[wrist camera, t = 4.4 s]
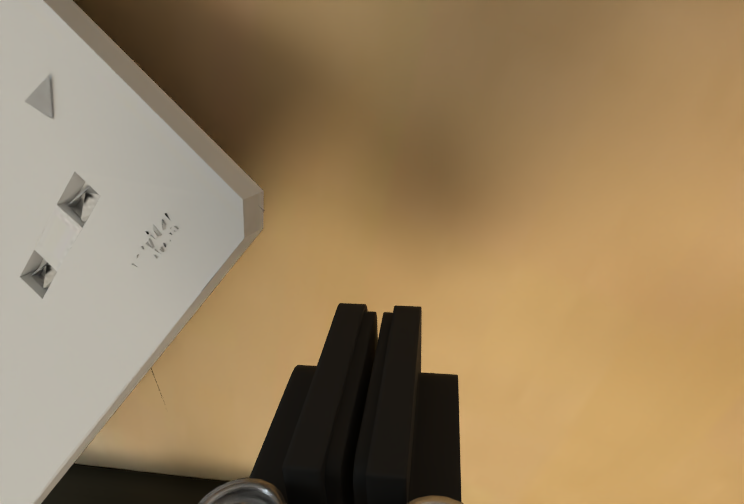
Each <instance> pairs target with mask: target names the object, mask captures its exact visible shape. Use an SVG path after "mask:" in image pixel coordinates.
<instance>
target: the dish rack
mask: <svg viewBox="0 0 744 504" xmlns="http://www.w3.org/2000/svg"><path fill="white" fill-rule="evenodd" d="M225 483H227V482H223V481H214V480H205V479H197V478H188V477H179V476H170V475H161V474H152V473H144V472H135V471H126V470H117V469H108V468H100V467H91V466H82V465H72V466H71V467H70V468H69V470H68V471H67V472H66V473H65V474H64V476H63V477H62V478H61V479H60V481H59V482H58V483H57V484H56V486H55V487H54V488H53V489H52V491H51V492H50V493H49V494H48V496H47V497H46V498H45V499H44V500H43V502H42V503H41V504H198V503H199V502H200V501H201V500H202V499H203V497H205V496H206V495H207V494H209V493H210V492H211V491H213V490H214V489H215V488H217V487H218V486H221V485H223V484H225Z"/></svg>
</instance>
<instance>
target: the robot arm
mask: <svg viewBox="0 0 744 504" xmlns="http://www.w3.org/2000/svg"><path fill="white" fill-rule="evenodd" d="M198 504H463V503H462V502H461V471H460V433H459V394H458V375H452V374H435V373H421V307H414V306H394V310H393V313H389V312H384V313H383V318H382V323H381V328H380V333H379V338H378V334H377V314H376V312H367V306H366V304H346V303H340V304H339V305H338V307H337V310H336V313H335V316H334V319H333V321H332V324H331V327H330V330H329V333H328V336H327V339H326V342H325V344H324V347H323V350H322V353H321V356H320V359H319V362H318V365H317V366H305V365H297V366H296V367H295V368H294V370H293V372H292V374H291V377H290V379H289V381H288V384H287V386H286V389H285V391H284V394H283V396H282V399H281V401H280V404H279V406H278V409H277V411H276V413H275V416H274V418H273V421H272V423H271V426H270V428H269V431H268V433H267V436H266V438H265V441H264V443H263V445H262V448H261V450H260V453H259V455H258V458H257V460H256V463H255V465H254V468H253V470H252V473H251V475H250V477H249V478H243V479H238V480H232V481H230V482H227V483H225V484H223V485H221V486H218V487H217V488H215V489H214V490H213V491H211V492H210V493H209V494H207V495H206V496H205V497H203V499H202V500H201V501H200V502H199V503H198Z"/></svg>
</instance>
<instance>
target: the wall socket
mask: <svg viewBox="0 0 744 504" xmlns="http://www.w3.org/2000/svg"><path fill="white" fill-rule="evenodd" d="M263 206H264V191H263V190H262V189H261V188H260V187H259V186H258V185H257V184H256V183H255V182H254V181H253V180H252V179H251V178H250V177H249V176H248V175H247V174H246V173H245V172H244V171H243V170H242V169H241V168H240V167H239V166H238V165H237V164H236V163H235V162H234V161H233V160H232V159H231V158H230V157H229V156H228V155H227V154H226V153H225V152H224V151H223V150H222V149H221V148H220V147H219V146H218V145H217V144H216V143H215V142H214V141H213V140H212V139H211V138H210V137H209V136H208V135H207V134H206V133H205V132H204V131H203V130H202V129H201V128H200V127H199V126H198V125H197V124H196V123H195V122H194V121H193V120H192V119H191V118H190V117H189V116H188V115H187V114H186V113H185V112H184V111H183V110H182V109H181V108H180V107H179V106H178V105H177V104H176V103H175V102H174V101H173V100H172V99H171V98H170V97H169V96H168V95H167V94H166V93H165V92H164V91H163V90H162V89H161V88H160V87H159V86H158V85H157V84H156V83H155V82H154V81H153V80H152V79H151V78H150V77H149V76H148V75H147V74H146V73H145V72H144V71H143V70H142V69H141V68H140V67H139V66H138V65H137V64H136V63H135V62H134V61H133V60H132V59H131V58H130V57H129V56H128V55H127V54H126V53H125V52H124V51H123V50H122V49H121V48H120V47H119V46H118V45H117V44H116V43H115V42H114V41H113V40H112V39H111V38H110V37H109V36H108V35H107V34H106V33H105V32H104V31H103V30H102V29H101V28H100V27H99V26H98V25H97V24H96V23H95V22H94V21H93V20H92V19H91V18H90V17H89V16H88V15H87V14H86V13H85V12H84V11H83V10H82V9H81V8H80V7H79V6H78V5H77V4H76V3H75V2H74V1H73V0H0V504H41V503H42V502H43V500H44V499H45V498H46V497H47V496H48V494H49V493H50V492H51V491H52V489H53V488H54V487H55V486H56V484H57V483H58V482H59V481H60V479H61V478H62V477H63V476H64V474H65V473H66V472H67V471H68V470H69V468H70V467H71V466H72V465H73V463H74V462H75V461H76V460H77V458H78V457H79V456H80V455H81V453H82V452H83V451H84V450H85V448H86V447H87V446H88V445H89V444H90V442H91V441H92V440H93V439H94V437H95V436H96V435H97V434H98V432H99V431H100V430H101V429H102V427H103V426H104V425H105V424H106V422H107V421H108V420H109V419H110V418H111V416H112V415H113V414H114V413H115V411H116V410H117V409H118V408H119V406H120V405H121V404H122V403H123V401H124V400H125V399H126V398H127V396H128V395H129V394H130V393H131V392H132V390H133V389H134V388H135V387H136V385H137V384H138V383H139V382H140V380H141V379H142V378H143V377H144V375H145V374H146V373H147V372H148V370H149V369H150V368H151V367H152V366H153V364H154V363H155V362H156V361H157V359H158V358H159V357H160V356H161V354H162V353H163V352H164V351H165V349H166V348H167V347H168V346H169V344H170V343H171V342H172V341H173V340H174V338H175V337H176V336H177V335H178V333H179V332H180V331H181V330H182V328H183V327H184V326H185V325H186V323H187V322H188V321H189V320H190V318H191V317H192V316H193V315H194V314H195V312H196V311H197V310H198V309H199V307H200V306H201V305H202V304H203V302H204V301H205V300H206V299H207V297H208V296H209V295H210V294H211V293H212V291H213V290H214V289H215V288H216V286H217V285H218V284H219V283H220V281H221V280H222V279H223V278H224V276H225V275H226V274H227V273H228V271H229V270H230V269H231V268H232V267H233V265H234V264H235V263H236V262H237V260H238V259H239V258H240V257H241V255H242V254H243V253H244V252H245V250H246V249H247V248H248V247H249V245H250V244H251V243H252V242H253V241H254V239H255V238H256V237H257V236H258V234H259V233H260V232H261V231H262V229H263V212H264V210H263ZM151 370H152V369H151ZM152 373H153V371H152ZM153 375H154V374H153ZM154 378H155V377H154ZM155 380H156V379H155ZM156 383H157V382H156ZM157 386H158V385H157ZM158 388H159V387H158ZM159 391H160V390H159ZM161 396H162V395H161ZM162 399H163V398H162ZM164 404H165V403H164Z"/></svg>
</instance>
